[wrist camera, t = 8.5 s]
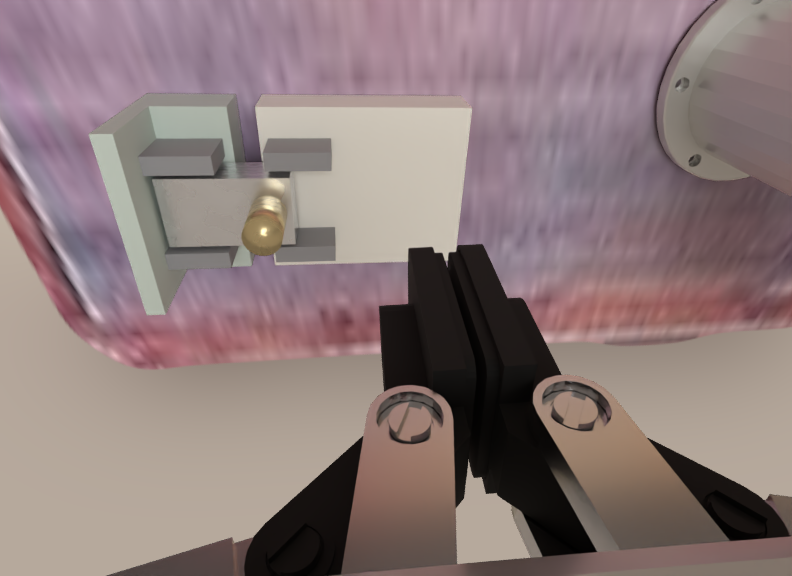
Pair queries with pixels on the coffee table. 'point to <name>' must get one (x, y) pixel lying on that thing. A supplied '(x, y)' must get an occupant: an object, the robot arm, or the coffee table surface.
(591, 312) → the coffee table surface
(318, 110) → the door board
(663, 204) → the coffee table surface
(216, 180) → the bolt
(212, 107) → the door jamb
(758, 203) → the coffee table surface
